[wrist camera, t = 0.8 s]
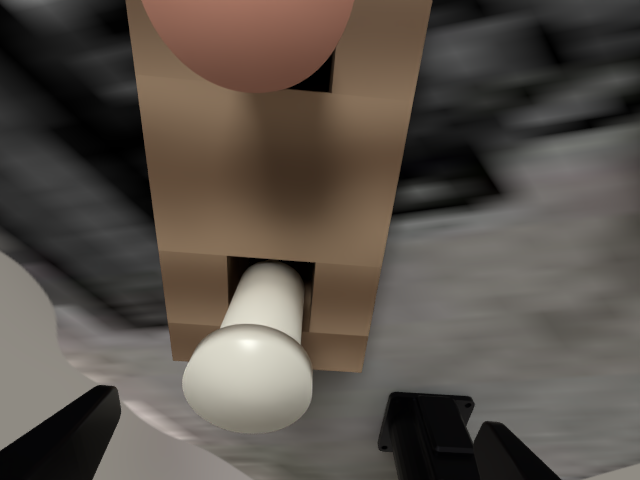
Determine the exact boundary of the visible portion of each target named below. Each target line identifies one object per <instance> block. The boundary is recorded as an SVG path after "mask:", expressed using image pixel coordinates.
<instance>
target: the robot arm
mask: <svg viewBox="0 0 640 480" xmlns="http://www.w3.org/2000/svg"><path fill="white" fill-rule="evenodd" d="M474 405H475V404H474V402H473V400H472V398H471V397H468V396H454V395H438V394H422V393H406V392H394V393H391V394H390V396H389V400H388V404H387V408H386V412H385V416H384V420H383V424H382V428H381V432H380V436H379V440H378V448H379V450H380V451H383V452H393V455H394V460H395V465H396V470H397V475H398V479H399V480H561V479H560V478H559V477H558V476H557V475H556V474H555V473H554V472H553V471H552V470H551V469H550V468H549V467H548V466H547V465H546V464H545V463H544V462H543V461H542V460H541V459H539V458H538V457H537V456H536V455H535V454H534V453H533V452H532V451H531V450H530V449H529V448H528V447H527V446H526V445H525V444H524V443H523V442H522V441H521V440H520V439H519V438H518V437H516V436H515V435H514V434H513V433H512V432H511V431H510V430H509V429H508V428H507V427H506V426H505V425H504V424H502V423H500V422H492V421H485V422H484V423H483V424H482V426H481V428H480V430H479V432H478V434H477V436H476V438H475V440H474V444H473V441H472V439H471V437H470V435H469V432H468V430H467V428H466V425H467V423H468V420H469V418H470V415H471V413H472V411H473V408H474ZM120 415H121V406H120V400H119V394H118V390H117V388H116V387H115V386H106V385H98V386H96V387H94V388H92V389H91V390H89V391H88V392H86V393H85V394H83V395H82V396H80V397H79V398H78V399H76V400H74V401H73V402H72V403H70V404H69V405H67V406H66V407H64V408H63V409H61V410H60V411H58V412H57V413H55V414H54V415H53V416H51V417H50V418H48V419H47V420H45V421H43V422H42V423H41V424H39V425H38V426H36V427H35V428H33V429H32V430H31V431H29V432H28V433H26V434H24V435H23V436H21V437H20V438H18V439H17V440H16V441H14V442H13V443H11V444H10V445H8V446H7V447H5V448H4V449H2V450H1V451H0V480H92V479H93V477H94V475H95V473H96V470H97V468H98V466H99V464H100V462H101V459H102V457H103V455H104V453H105V450H106V448H107V446H108V444H109V442H110V439H111V437H112V435H113V432H114V430H115V428H116V426H117V424H118V421H119V419H120Z"/></svg>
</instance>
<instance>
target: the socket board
mask: <svg viewBox="0 0 640 480" xmlns="http://www.w3.org/2000/svg"><path fill="white" fill-rule="evenodd" d="M431 5H432V0H354V3H353V7H352V11H351V14H350V17H349V20H348V22H347V25H346V27H345V30H344V32H343V34H342V37H341V39H340V40H339V42H338V44H337V46H336V48H335V49H334V51H333V52H332V56H331V68H330V79H329V90H328V92H320V91H310V90H299V89H289V88H287V89H283V90H279V91H274V92H266V93H245V92H239V91H233V90H230V89H227V88H223V87H220V86H218V85H216V84H214V83H211V82H209V81H207V80H206V79H204V78H202V77H201V76H199V75H198V74H196V73H195V72H193V71H192V70H191V69H190V68H188V67H187V66H186V65H185V64H183V63H182V62H181V61H180V60H179V59H178V58H177V57H176V56H175V55H174V54H173V53H172V51H171V50H170V49H169V48H168V46H167V45H166V44H165V43H164V41H163V40H162V39H161V37H160V36H159V34H158V33H157V31H156V29H155V28H154V26H153V25H152V23H151V21H150V19H149V17H148V15H147V13H146V11H145V8H144V6H143V3H142V1H141V0H126V6H127V14H128V22H129V29H130V37H131V44H132V52H133V60H134V67H135V75H136V82H137V90H138V98H139V105H140V113H141V120H142V128H143V136H144V143H145V151H146V158H147V166H148V174H149V181H150V189H151V196H152V204H153V212H154V219H155V227H156V234H157V242H158V250H159V257H160V265H161V273H162V280H163V288H164V295H165V303H166V311H167V318H168V326H169V333H170V341H171V349H172V356H173V361H188V362H189V361H190V359H191V357H192V354H193V352H194V350H195V349H196V347H197V345H198V344H199V343H200V342H201V340H203V339H204V338H205V337H206V336H207V335H209V334H210V333H212V332H214V331H216V330H218V329H220V327H221V325H222V322H223V320H224V317H225V315H226V313H227V310H228V308H229V305H230V303H231V301H232V298H233V296H234V293H235V291H236V289H237V286H238V284H239V281H240V279H241V277H242V275H243V273H244V272H245V271H246V270H247V269H248V268H249V257H251V258H264V259H277V260H290V261H303V262H313V268H312V279H311V280H309V279H302V280H303V283H304V288H305V292H304V305H303V319H302V332H301V346H302V347H303V348H304V350H305V351H306V352H307V354H308V356H309V358H310V360H311V363H312V369H313V370H328V371H344V372H359V373H361V372H362V367H363V362H364V356H365V351H366V346H367V341H368V335H369V330H370V325H371V320H372V314H373V309H374V304H375V299H376V293H377V288H378V283H379V278H380V272H381V267H382V262H383V257H384V251H385V246H386V241H387V236H388V230H389V225H390V220H391V215H392V209H393V204H394V199H395V194H396V188H397V183H398V178H399V173H400V167H401V162H402V157H403V152H404V146H405V141H406V136H407V131H408V125H409V120H410V115H411V110H412V104H413V99H414V94H415V89H416V83H417V78H418V73H419V68H420V62H421V57H422V52H423V47H424V41H425V36H426V31H427V26H428V20H429V15H430V10H431Z"/></svg>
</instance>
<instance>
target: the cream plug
mask: <svg viewBox="0 0 640 480" xmlns="http://www.w3.org/2000/svg"><path fill="white" fill-rule="evenodd" d="M304 292H305V288H304V283H303V280H302V278H301V276H300V275H299V273H298V272H297V271H296V270H295V269H294V268H292V267H291V266H289V265H287V264H285V263H282V262H279V261H269V260H268V261H261V262H258V263H255V264H253V265H252V266H250V267H249V268H248V269H247V270H246V271H245V272H244V273H243V275H242V277H241V279H240V281H239V284H238V286H237V289H236V291H235V293H234V296H233V298H232V301H231V303H230V305H229V308H228V310H227V313H226V315H225V317H224V320H223V322H222V325H221V327H220V329H218V330H216V331H214V332H212V333H210V334H209V335H207V336H206V337H205V338H204V339H203V340H201V342H200V343H199V344H198V345H197V347H196V349H195V350H194V352H193V354H192V357H191V359H190V361H189V363H188V365H187V367H186V369H185V372H184V375H183V380H182V387H183V392H184V395H185V398H186V400H187V402H188V403H189V405H190V406H191V408H192V409H193V410H194V411H195V412H196V413H197V414H198V415H199V416H200V417H202V418H203V419H204V420H206V421H208V422H209V423H211V424H213V425H215V426H217V427H219V428H222V429H225V430H228V431H232V432H237V433H244V434H262V433H269V432H274V431H277V430H280V429H283V428H285V427H287V426H289V425H291V424H293V423H294V422H296V421H297V420H298V419H299V418H301V417H302V415H303V414H304V413H305V412H306V410H307V409H308V407H309V405H310V402H311V399H312V381H313V369H312V363H311V360H310V358H309V356H308V354H307V352H306V351H305V350H304V348H303V347H302V346H301V332H302V319H303V305H304Z"/></svg>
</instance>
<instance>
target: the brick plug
mask: <svg viewBox="0 0 640 480" xmlns="http://www.w3.org/2000/svg"><path fill="white" fill-rule="evenodd" d="M141 1H142V3H143V6H144V8H145V11H146V13H147V15H148V17H149V19H150V21H151V23H152V25H153V26H154V28H155V29H156V31H157V33H158V34H159V36H160V37H161V39H162V40H163V41H164V43H165V44H166V45H167V46H168V48H169V49H170V50H171V51H172V53H173V54H174V55H175V56H176V57H177V58H178V59H179V60H180V61H181V62H182V63H183V64H185V65H186V66H187V67H188V68H190V69H191V70H192V71H193V72H195V73H196V74H198V75H199V76H201V77H202V78H204V79H206V80H207V81H209V82H211V83H214V84H216V85H218V86H220V87H223V88H227V89H230V90H233V91H239V92H245V93H266V92H274V91H279V90H283V89H287V88H289V87H292V86H294V85H296V84H298V83H300V82H302V81H303V80H305V79H307V78H308V77H310V76H311V75H312V74H313V73H314V72H316V71H317V70H318V69H319V68H320V67H321V66H322V65H323V64H324V63H325V62H326V60H327V59H328V58H329V56H330V55H331V54H332V52H333V51H334V49H335V48H336V46H337V44H338V42H339V40H340V39H341V37H342V34H343V32H344V30H345V27H346V25H347V22H348V20H349V17H350V14H351V11H352V7H353V3H354V0H141Z"/></svg>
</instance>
